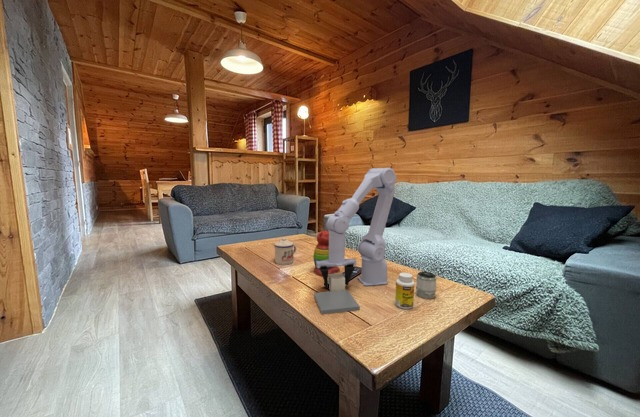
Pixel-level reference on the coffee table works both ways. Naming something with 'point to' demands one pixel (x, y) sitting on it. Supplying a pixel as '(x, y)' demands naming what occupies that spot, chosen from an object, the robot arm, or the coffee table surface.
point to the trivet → (336, 302)
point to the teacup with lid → (284, 252)
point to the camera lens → (426, 285)
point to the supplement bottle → (404, 291)
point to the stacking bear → (323, 252)
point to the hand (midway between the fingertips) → (336, 285)
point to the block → (336, 282)
